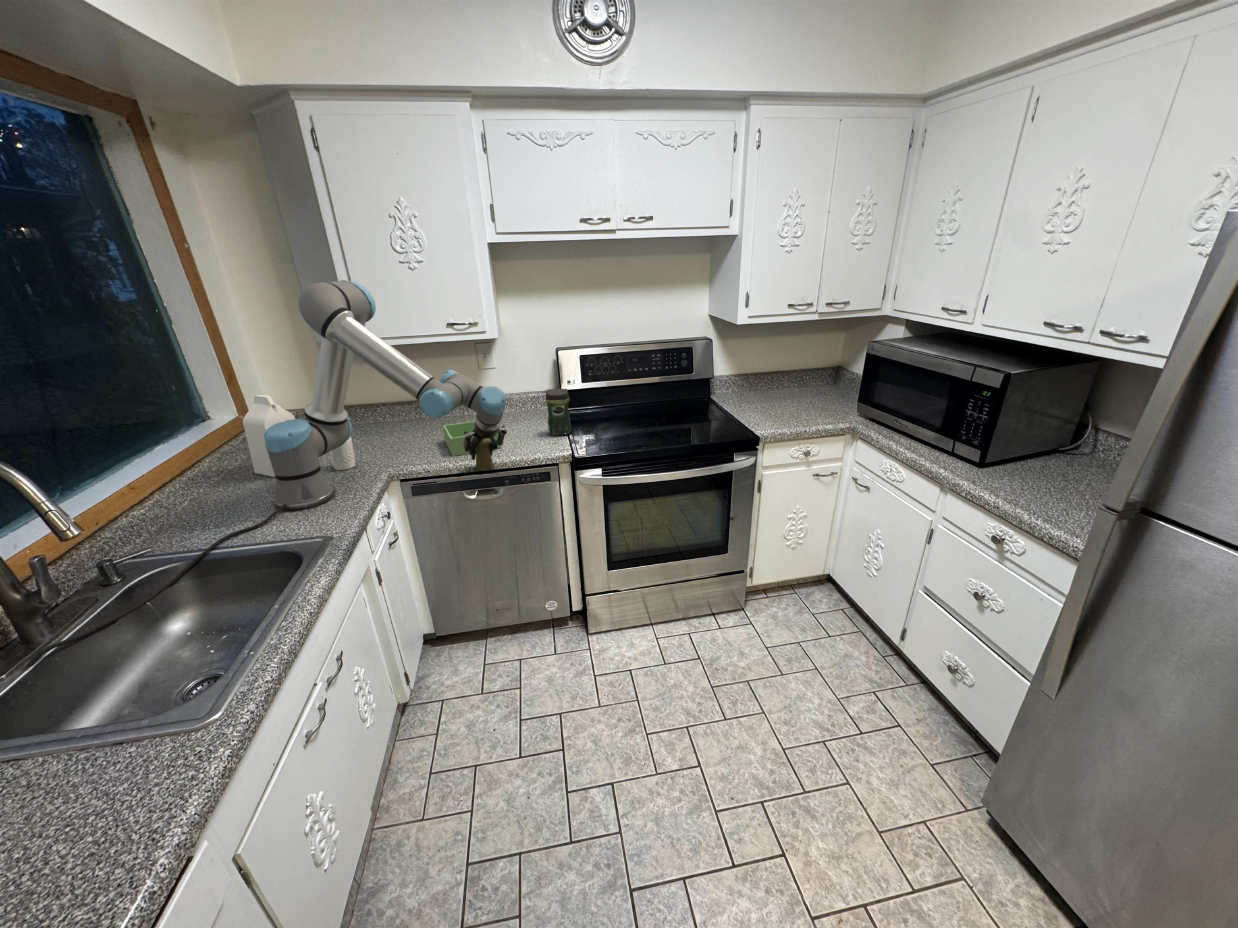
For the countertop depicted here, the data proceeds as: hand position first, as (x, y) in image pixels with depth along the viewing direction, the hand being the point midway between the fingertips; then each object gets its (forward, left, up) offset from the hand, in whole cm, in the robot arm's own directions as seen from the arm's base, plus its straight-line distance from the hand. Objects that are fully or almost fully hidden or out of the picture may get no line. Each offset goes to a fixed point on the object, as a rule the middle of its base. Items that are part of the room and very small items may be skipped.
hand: (481, 454), depth 175 cm
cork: (-3, -2, -4) cm, 5 cm away
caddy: (+18, +12, -4) cm, 22 cm away
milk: (-14, +67, -4) cm, 68 cm away
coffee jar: (+36, -18, -4) cm, 41 cm away
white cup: (-9, +47, -4) cm, 48 cm away
